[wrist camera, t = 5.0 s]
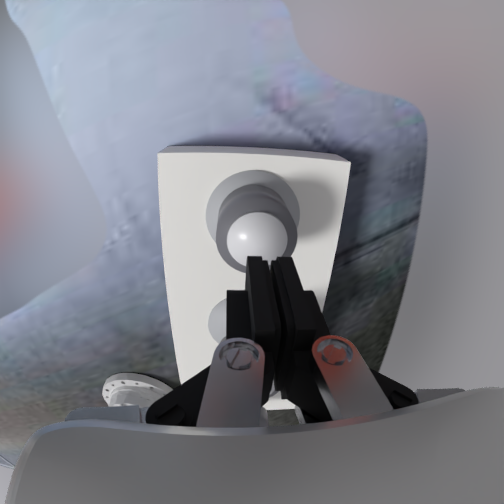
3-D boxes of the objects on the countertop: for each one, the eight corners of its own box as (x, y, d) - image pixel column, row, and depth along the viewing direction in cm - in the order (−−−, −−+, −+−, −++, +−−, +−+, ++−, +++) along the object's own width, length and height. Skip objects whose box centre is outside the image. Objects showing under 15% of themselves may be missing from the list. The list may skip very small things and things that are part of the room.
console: (167, 146, 20) (156, 153, 17) (336, 154, 20) (352, 162, 18) (187, 388, 32) (185, 410, 29) (291, 388, 33) (295, 409, 30)
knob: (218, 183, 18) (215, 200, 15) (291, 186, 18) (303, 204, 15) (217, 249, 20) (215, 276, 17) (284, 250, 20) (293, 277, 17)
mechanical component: (114, 358, 29) (98, 396, 33) (104, 389, 25) (90, 422, 29) (194, 391, 32) (165, 422, 36) (191, 421, 28) (161, 448, 32)
